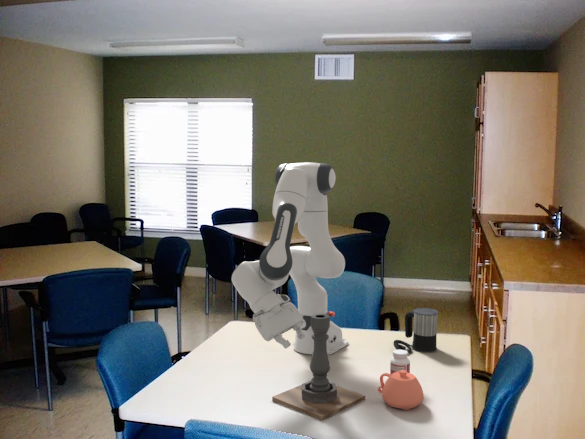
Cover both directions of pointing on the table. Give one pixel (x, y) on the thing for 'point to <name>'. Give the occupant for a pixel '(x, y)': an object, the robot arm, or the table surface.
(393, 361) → the pill bottle
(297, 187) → the robot arm
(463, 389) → the table surface
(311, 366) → the candle holder
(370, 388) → the table surface
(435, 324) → the milk frother
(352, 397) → the candle dish
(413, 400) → the sugar bowl
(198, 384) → the table surface
